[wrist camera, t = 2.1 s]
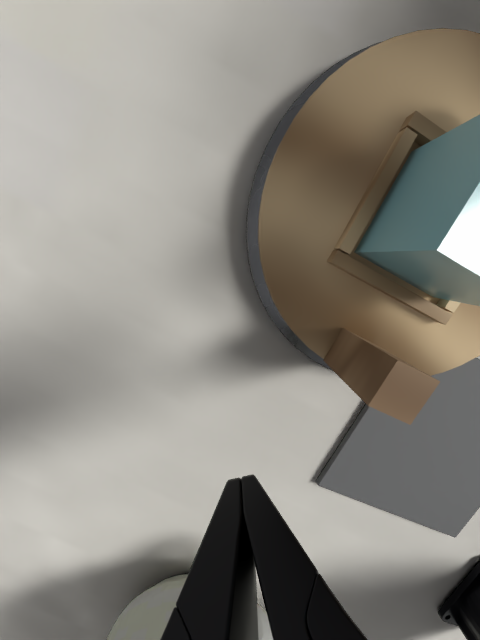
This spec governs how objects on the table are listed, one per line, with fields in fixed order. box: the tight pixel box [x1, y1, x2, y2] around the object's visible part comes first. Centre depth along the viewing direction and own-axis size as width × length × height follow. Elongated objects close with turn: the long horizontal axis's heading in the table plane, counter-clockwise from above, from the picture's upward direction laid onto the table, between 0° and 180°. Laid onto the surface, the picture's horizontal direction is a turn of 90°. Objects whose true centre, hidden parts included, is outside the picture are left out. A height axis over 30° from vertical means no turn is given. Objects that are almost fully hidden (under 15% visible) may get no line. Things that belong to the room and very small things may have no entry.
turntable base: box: [246, 41, 384, 369], centre depth 15 cm, size 17×17×1 cm
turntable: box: [258, 28, 480, 425], centre depth 11 cm, size 16×16×5 cm
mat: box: [316, 358, 480, 537], centre depth 18 cm, size 12×12×1 cm
